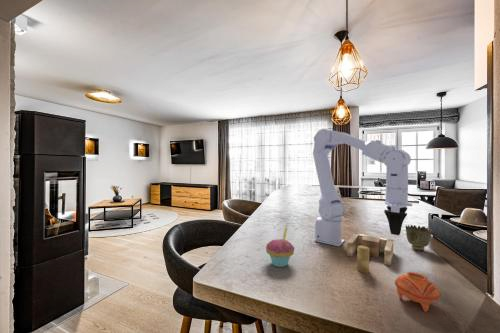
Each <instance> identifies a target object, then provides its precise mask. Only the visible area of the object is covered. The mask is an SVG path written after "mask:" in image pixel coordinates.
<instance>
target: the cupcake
mask: <svg viewBox="0 0 500 333" xmlns="http://www.w3.org/2000/svg"><path fill="white" fill-rule="evenodd" d="M287 226H288V224H286V226H284V231H283V236H282V238H278V239H272V240H270V241H269V242H268V243H266V246H265V251H266V253H267V254H268V255H269V256H270V261H271V263H272V265H273V266H275V267H278V268H283V267H287V266H288V265H289V262H290V258H291V256H294V254H295V253H294V252H295V246H294V245H293V244H292V242H289V241H288V240H286V237H287V230H288V228H287Z"/></svg>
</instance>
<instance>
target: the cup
mask: <svg viewBox="0 0 500 333" xmlns="http://www.w3.org/2000/svg"><path fill="white" fill-rule="evenodd" d="M432 231H433V229H429V228H428V227H425V226H420V225H418V226H417V225H412V224H411V225H409V224H408V225H407V224H406V225H405V233H406V234H405V235H406V240H407V241H408V243H409V244H411V249H412V250H414V251H417V252H424V251H425V248H426V247H427V246H429V244H430V242H431V237H432Z"/></svg>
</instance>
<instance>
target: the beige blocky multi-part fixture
mask: <svg viewBox="0 0 500 333" xmlns="http://www.w3.org/2000/svg"><path fill="white" fill-rule="evenodd" d="M364 235H365V236H370V237H376V238H380V253H383V252H384V253H383V254H384V255H383V256H384V257H383V260H384V261H383V264H386V265H385V266H388V265H390V266H389V267H391V265H392V261H393V255H394V239H391V238H390V239H389V238H384V237H379V236H374V235H373V236H372V235H368V234H363V233H362V234H361V233H356V232H354V233H353V235H351V236H350V238H349V239H348V240H347V242H346V256H348V257H353V256H354V254H355V253H356V251H357V247H358V246H362V238H363V236H364Z"/></svg>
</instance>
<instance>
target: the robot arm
mask: <svg viewBox="0 0 500 333" xmlns="http://www.w3.org/2000/svg"><path fill="white" fill-rule="evenodd" d="M313 141H314V142H313V143H314V145H313V151H312V156H313V160H314V165H315V169H316V175H317V179H318V183H319V189H320V193H321V197H319V199H318V205H319V206H318V213H319V216H320V217H319V216H318V217H317V218H316V219H315V224H314V225H315V226H314V227H315V228H314V229H315V230H314V232H315V233H314V234H315V237H314V242H318V243H321V244H327V245H332V246H335V247H340V246H342V244H343V243H344V242H345V239H343V238H342V235H343V234H342V228H343V226H342V225H343V221H342V220H343V215H344V214H346V207H345V205H344V203H343V201H342V199H341V196H339V195H338V193H337V192H336V187H335V183H334V179H333V178H334V177H333V174H332V170H331V165H330V160H329V156H328V155H330V153H331V151H332V150H334V149H335V148H336V147H337V146H338V145H343V144H346V145H348V146H350V147H353V148H355V149H359V150H360V151H362V154H363V155H364V156H366V157H368V158H370V159H372V160H374V161H376V162H379V163H382V164H384V165H385V167H386V173H385V175H386V176H385V201H384V204H385V205H386V208H387V209H384V210H383V212H384V214H385V217H386V220H387V221H388V225H389V226H388V227H389V231H390V235H394V236H400V235H401V231H402V227H403V224H404V220H405V218H406V217H407V216H408V212H407V211H408V207H413V203H411V202H408V201H409V199H408V198H409V196H408V195H409V165H410V164H411V160H412V159H411V156H410V154H409V153H408V152H407V151H405V150H404V149H397V147H396V146H395V145H391V146H390V145H386V144H385V143H382V141H381V140H380V139H375V140H368V141H365V140H363V139H361V138H359V137H355V136H353V135H351V134H349V133H347V132H341V131H337V130H332V129H327V128H321V129H318V131H317V132H316V133H315V135H314V136H313Z"/></svg>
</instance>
